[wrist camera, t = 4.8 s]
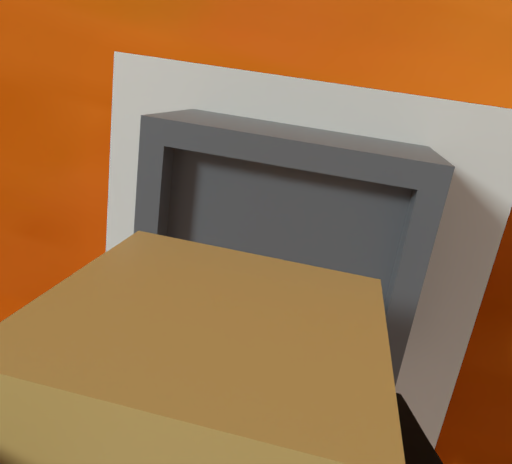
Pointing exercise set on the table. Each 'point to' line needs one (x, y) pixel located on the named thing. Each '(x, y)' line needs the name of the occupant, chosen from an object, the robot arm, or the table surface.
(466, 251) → the build board
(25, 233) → the table surface
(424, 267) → the charcoal base block
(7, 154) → the table surface
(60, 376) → the ochre block
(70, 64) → the table surface
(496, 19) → the table surface
